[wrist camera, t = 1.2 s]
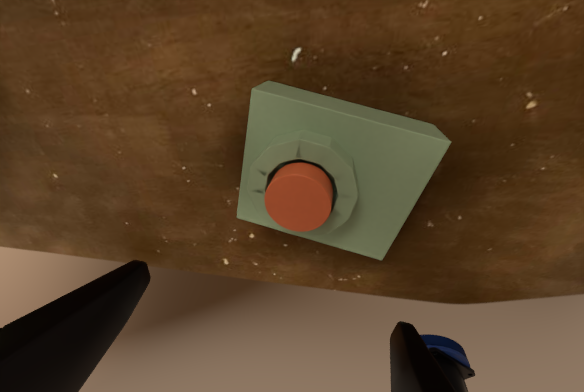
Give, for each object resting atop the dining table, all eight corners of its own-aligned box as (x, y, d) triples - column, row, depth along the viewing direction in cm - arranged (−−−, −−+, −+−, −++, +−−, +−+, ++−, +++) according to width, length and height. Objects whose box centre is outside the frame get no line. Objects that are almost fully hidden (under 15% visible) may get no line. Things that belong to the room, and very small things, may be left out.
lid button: (341, 172, 15) (340, 185, 14) (323, 222, 17) (320, 239, 16) (277, 154, 15) (269, 166, 14) (267, 206, 18) (259, 221, 16)
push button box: (433, 124, 18) (464, 153, 13) (377, 231, 23) (384, 279, 18) (268, 80, 18) (240, 93, 14) (250, 194, 24) (227, 232, 19)
